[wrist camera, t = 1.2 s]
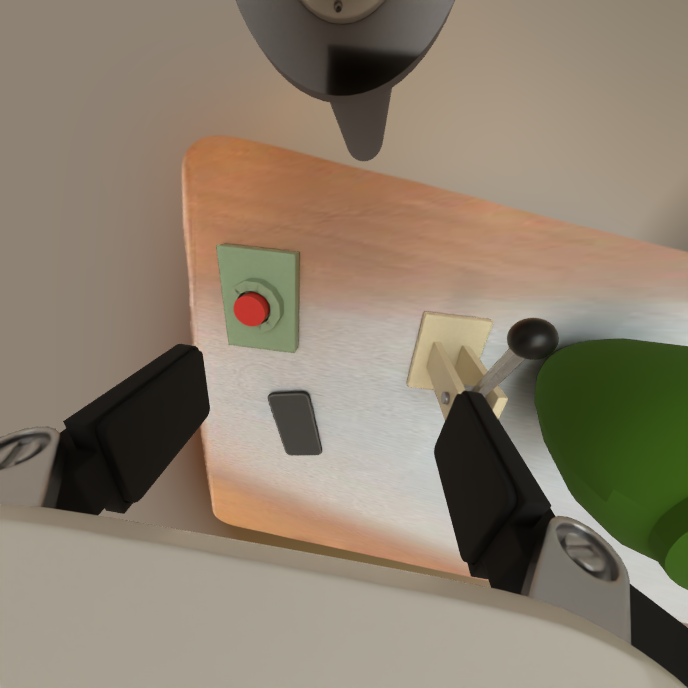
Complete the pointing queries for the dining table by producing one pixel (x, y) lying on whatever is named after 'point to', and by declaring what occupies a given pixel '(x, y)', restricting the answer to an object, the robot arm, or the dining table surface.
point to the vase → (623, 440)
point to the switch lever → (519, 351)
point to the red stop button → (251, 309)
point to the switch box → (270, 282)
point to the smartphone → (295, 422)
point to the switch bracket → (452, 358)
